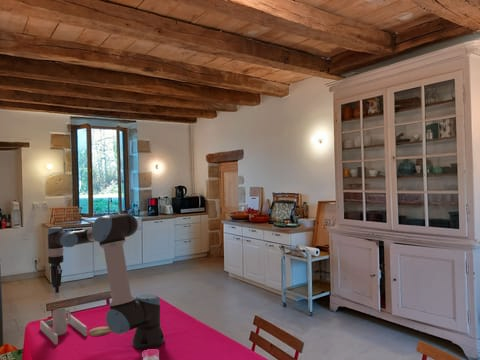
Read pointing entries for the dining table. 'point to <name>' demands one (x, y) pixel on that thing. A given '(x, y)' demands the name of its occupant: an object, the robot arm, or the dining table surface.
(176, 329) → the dining table surface
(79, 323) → the channel
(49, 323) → the pad
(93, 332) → the coaster
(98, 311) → the dining table surface
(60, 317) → the mug
